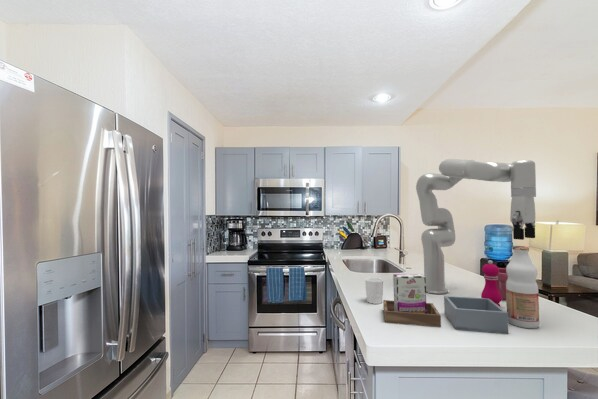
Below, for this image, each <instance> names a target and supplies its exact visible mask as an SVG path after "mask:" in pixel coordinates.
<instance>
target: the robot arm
mask: <svg viewBox="0 0 598 399" xmlns="http://www.w3.org/2000/svg"><path fill="white" fill-rule="evenodd" d="M438 171H439V173H435V172H434V173H433V172H432V173H431V172H430V173H424V174H422V175H420V176H419V178H418V179H417V182H416V183H415V184H416V186H415V190H416V191H415V192H416V194H417V198H418V202H419V210H420V217H421V221H422V224H424V225H425V226H427V227H437V228H428V229H425V230H424V231H423V232H422V233H421V238H420V240H421V244H422V250H423V275H424V276H425V278H426V294H434V295H446V294H448V293H449V289H448V288H446V281H445V280H446V279H445V278H446V276H445V273H446V272H445V254H444V252H443V250H442V248H445V247H451V246H453V245H454V244H455V242H456V231H455V225H454V219H453V215H452V213H451V212H450V210H449V209H447V208H445V207H439V206H438V205H439V204H438V200H437V197H436V195H435V194H434V192H433V191H447V190H451V189H452V188H454V186H455V185H457V184H458V183H459V182H461V181H462V180H463V179H465V180H477V181H485V182H499V183H510V197H511V202H510V213H509V214H510V215H509V216H510V217H509V218H510V222H511V223H512V231H513V232H512V236H513V237H512V238H513V239H514V240H525V239H535V238H536V224H535V223H536V204H535V198H536V197H537V186H536V185H537V184H536V183H537V181H536V178H537V177H536V175H537V174H536V162H535V161H534V160H530V159H525V160H524V159H523V160H517V161H512V163H505V162H494V161H493V162H492V161H491V162H490V161H477V160H473V159H455V158H448V159H445V160H442V161H440V164H439V166H438ZM524 226H525V227H524ZM523 227H524V228H523Z"/></svg>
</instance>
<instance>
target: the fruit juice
mask: <svg viewBox="0 0 598 399" xmlns="http://www.w3.org/2000/svg"><path fill="white" fill-rule="evenodd" d="M511 249H512V252H513V253H512V256H511V259H510V261H509V262H508V264H507V265H506V267H505V268H506V273H507V276H508V279H507V281H506V300H505V301H506V303H505V304H506V312H507V313H508V324H510V325H513V326H515V327H520V328H524V329H537V328H539V326H540V305H539V304H540V303H539V302H540V301H539V286H538V282H537V276H538V270H537V268H536V266H535V265H534V264H533V262H532V259H531V258H530V255H529V252H530V247H529V246H525V245H513V246H512V247H511Z"/></svg>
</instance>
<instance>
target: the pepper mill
mask: <svg viewBox="0 0 598 399" xmlns="http://www.w3.org/2000/svg"><path fill="white" fill-rule="evenodd" d="M493 262H494V261H493V260H490V259H489V260H488V261H487V263H485V264H484V265H483V266H482V268H481V270H482V272H483V278H484V287H483V289H482V291H481V295H480V296H481V297H480V298H487V299H490V300H491V301H493V302H494V303H495V304H497V305H498V306H499V307H501V304H500V303H501V302H502V301H503V300H502V298H501V294H500V292H499V290H498V288H497V280H498V276H497V275H498V274H499V268H500V267H498V266H497V265H496V264H493Z"/></svg>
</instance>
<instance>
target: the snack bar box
mask: <svg viewBox="0 0 598 399" xmlns="http://www.w3.org/2000/svg"><path fill="white" fill-rule="evenodd" d="M392 282H393V285H392V286H393V301H394V311H398V312H411V313H424V314H427V307H426V303H427V292H426V278H425V276H424V274H422V273H397V274H396V273H395V274H394V273H393V275H392Z"/></svg>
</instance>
